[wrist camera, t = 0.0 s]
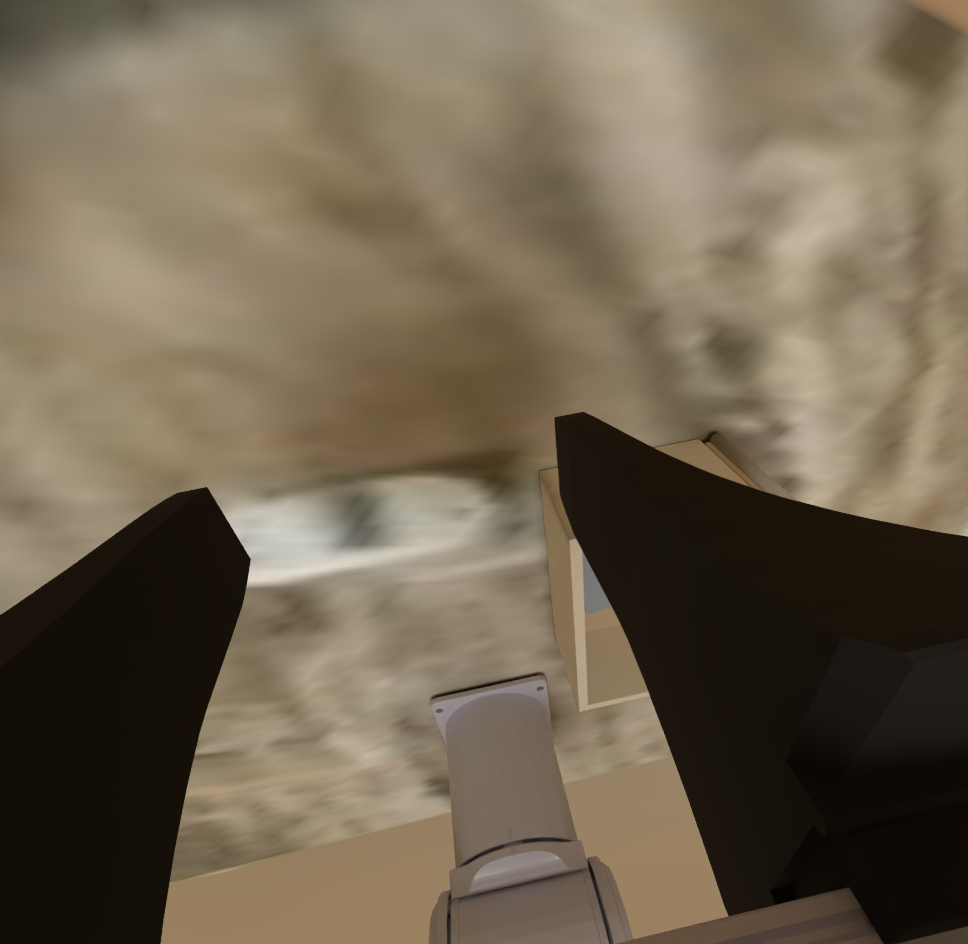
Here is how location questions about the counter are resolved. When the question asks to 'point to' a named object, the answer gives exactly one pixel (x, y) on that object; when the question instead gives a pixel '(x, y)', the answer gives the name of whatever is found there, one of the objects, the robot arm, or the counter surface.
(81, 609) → the robot arm
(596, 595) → the booklet
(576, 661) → the carton
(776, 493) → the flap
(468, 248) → the counter surface
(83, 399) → the counter surface
